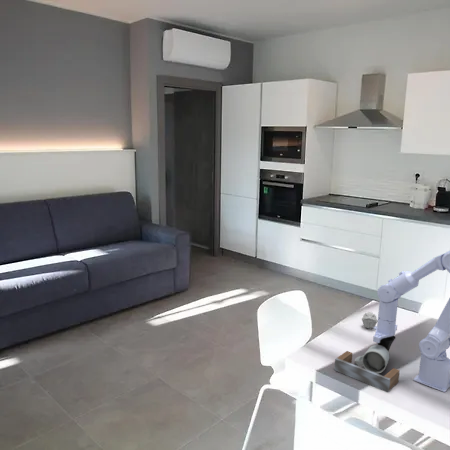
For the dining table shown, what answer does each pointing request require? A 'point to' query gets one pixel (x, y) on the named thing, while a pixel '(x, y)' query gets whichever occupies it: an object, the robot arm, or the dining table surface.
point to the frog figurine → (369, 320)
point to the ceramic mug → (374, 359)
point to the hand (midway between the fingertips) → (383, 355)
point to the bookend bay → (366, 373)
